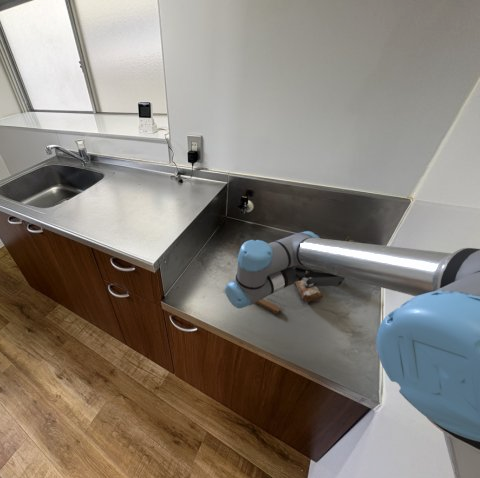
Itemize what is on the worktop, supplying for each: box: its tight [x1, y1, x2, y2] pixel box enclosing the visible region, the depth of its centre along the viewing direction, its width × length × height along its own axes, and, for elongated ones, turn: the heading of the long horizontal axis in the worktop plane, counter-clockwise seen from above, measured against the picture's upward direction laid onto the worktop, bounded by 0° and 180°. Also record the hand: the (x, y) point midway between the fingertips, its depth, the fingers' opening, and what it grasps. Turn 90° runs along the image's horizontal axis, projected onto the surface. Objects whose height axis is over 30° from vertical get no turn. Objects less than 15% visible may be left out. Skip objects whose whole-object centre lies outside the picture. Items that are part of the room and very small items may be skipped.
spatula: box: [254, 298, 281, 315], centre depth 88 cm, size 18×5×1 cm, turn 49°
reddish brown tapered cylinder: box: [294, 272, 324, 303], centre depth 89 cm, size 6×19×6 cm, turn 177°
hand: (330, 251), depth 77 cm, fingers open, 13 cm apart
